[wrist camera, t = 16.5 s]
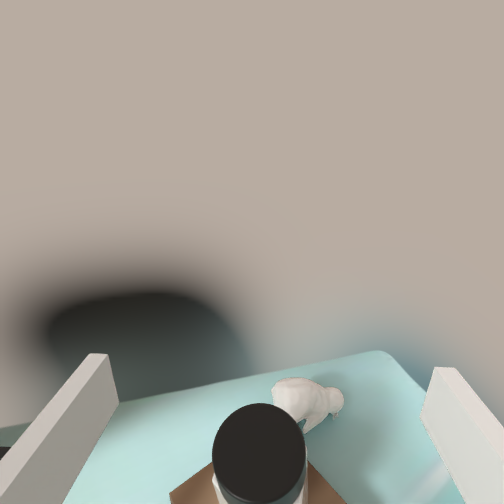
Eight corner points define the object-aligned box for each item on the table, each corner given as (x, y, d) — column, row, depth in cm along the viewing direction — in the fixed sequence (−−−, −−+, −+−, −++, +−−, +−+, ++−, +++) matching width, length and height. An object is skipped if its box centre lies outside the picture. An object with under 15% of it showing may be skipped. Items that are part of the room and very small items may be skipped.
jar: (293, 456, 34) (289, 390, 29) (325, 545, 27) (328, 479, 22) (220, 482, 33) (201, 417, 27) (234, 584, 26) (213, 523, 20)
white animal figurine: (269, 371, 43) (335, 357, 47) (264, 413, 46) (326, 396, 50) (288, 405, 37) (361, 386, 42) (281, 450, 40) (349, 428, 45)
